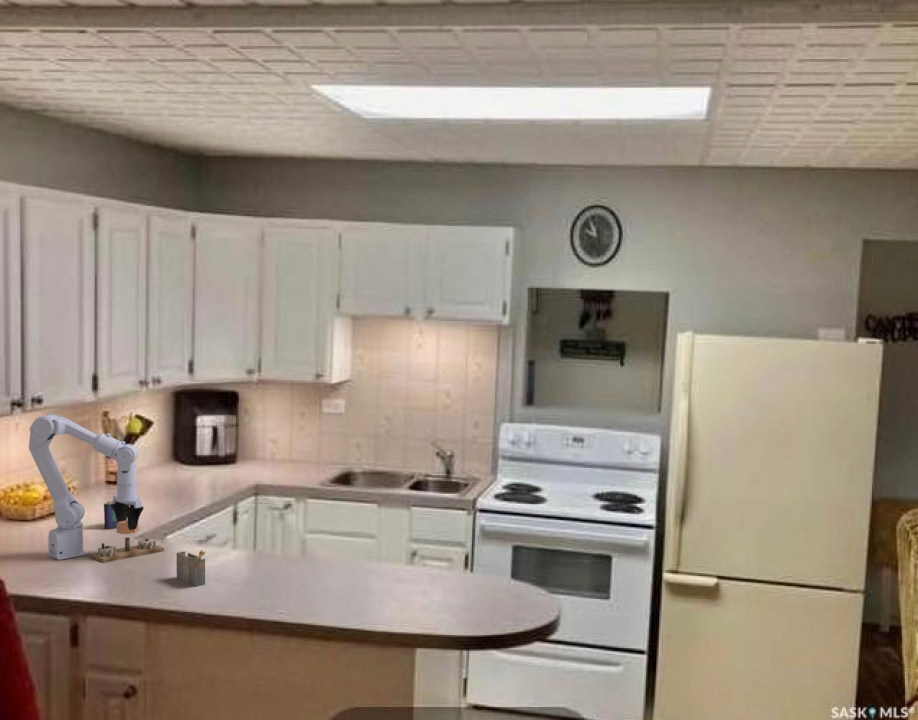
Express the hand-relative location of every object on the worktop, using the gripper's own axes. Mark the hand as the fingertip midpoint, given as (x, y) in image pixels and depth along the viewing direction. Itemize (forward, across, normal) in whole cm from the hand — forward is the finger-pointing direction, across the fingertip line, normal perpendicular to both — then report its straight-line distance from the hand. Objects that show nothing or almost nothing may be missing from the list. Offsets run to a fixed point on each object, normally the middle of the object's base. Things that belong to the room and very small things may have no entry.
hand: (127, 527), depth 294 cm
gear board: (+8, 0, 0) cm, 8 cm away
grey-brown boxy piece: (+9, -40, +2) cm, 41 cm away
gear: (+1, 0, 0) cm, 1 cm away
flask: (+8, +37, -15) cm, 41 cm away
